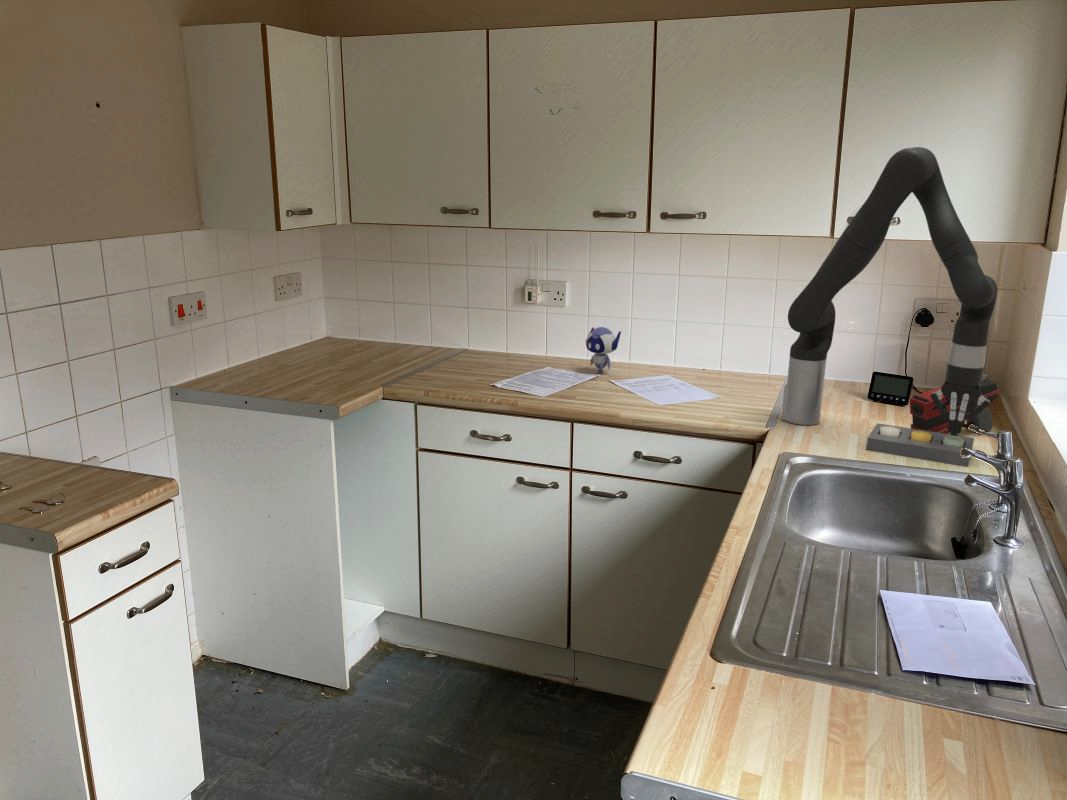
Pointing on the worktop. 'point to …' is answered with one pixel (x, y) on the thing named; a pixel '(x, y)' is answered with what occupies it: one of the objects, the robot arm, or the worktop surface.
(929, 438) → the button amber
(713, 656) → the worktop surface
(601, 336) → the toy
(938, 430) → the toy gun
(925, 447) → the panel
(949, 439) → the button sage
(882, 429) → the button ivory
